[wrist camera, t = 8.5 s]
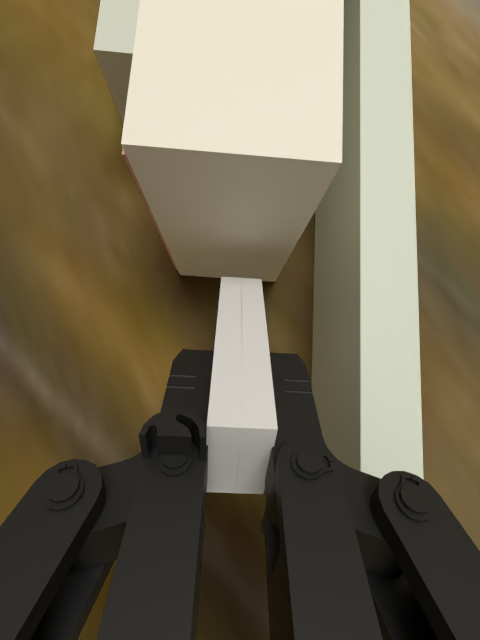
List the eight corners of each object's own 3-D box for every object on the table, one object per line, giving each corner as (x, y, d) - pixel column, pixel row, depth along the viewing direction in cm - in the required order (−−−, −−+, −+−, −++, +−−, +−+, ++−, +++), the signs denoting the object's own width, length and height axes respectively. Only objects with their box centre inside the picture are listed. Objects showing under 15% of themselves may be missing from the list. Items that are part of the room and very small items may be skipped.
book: (275, 282, 17) (341, 162, 8) (177, 275, 17) (114, 143, 7) (284, 70, 19) (346, -241, 10) (197, 61, 19) (169, -265, 9)
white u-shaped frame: (349, 531, 16) (427, 629, 10) (92, 521, 15) (6, 617, 9) (352, 27, 20) (405, -118, 14) (153, 6, 20) (123, -152, 14)
